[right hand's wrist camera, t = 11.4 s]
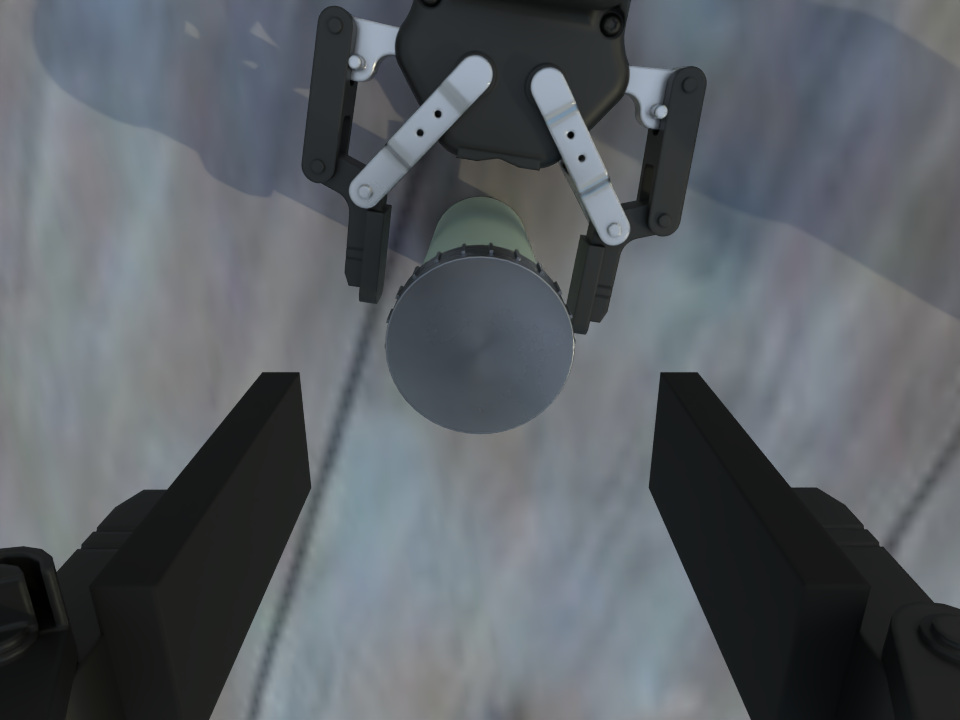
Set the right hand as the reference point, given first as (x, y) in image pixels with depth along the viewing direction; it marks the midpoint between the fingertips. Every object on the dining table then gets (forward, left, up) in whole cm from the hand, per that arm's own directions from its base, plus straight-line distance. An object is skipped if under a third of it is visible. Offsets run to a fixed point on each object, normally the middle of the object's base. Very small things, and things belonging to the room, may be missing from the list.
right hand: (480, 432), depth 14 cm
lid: (0, 0, -5) cm, 5 cm away
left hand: (0, -2, -14) cm, 14 cm away
